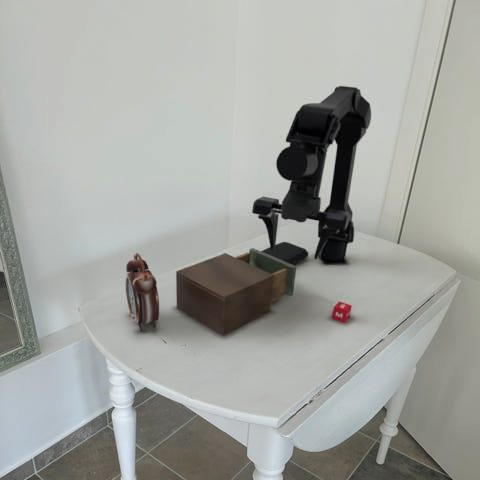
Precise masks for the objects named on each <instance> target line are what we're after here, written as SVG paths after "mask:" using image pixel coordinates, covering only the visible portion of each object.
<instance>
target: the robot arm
mask: <svg viewBox="0 0 480 480" xmlns="http://www.w3.org/2000/svg"><path fill="white" fill-rule="evenodd" d="M371 120H372V109H371V104H370V102H369V101H367V99H366V98H364V97H363V96H362V94H361V89H359V88H357V86H355V87H353V86H348V85H347V86H346V85H339V86H336V87H335V88H334V91H333V92H331V93H330V94H329V95H328V96H327V97H326V98H324V99H323V100H321V101H320V102H317V103H316V102H315V103H314V102H312V103H311V102H310V103H306V104H305V103H304V104H303V105H301V107H300V108H299V110H297V111H296V112H295V115H294V117H293V121H292V123H291V126H290V128H289V130H288V133H287V136H286V138H285V142H286V143H289V146H287V147H285V148H283V149H282V150H281V151H280V152H279V153H278V155H277V158H276V163H275V165H276V170H277V172H278V174H279V176H280V177H281V178H283V179H284V180H286V181H289V182H290V185H289V189H288V191H287V193H286V194H285V196H284V198H283V199H282V201H281V203H280V199H279V198H273V197H268V196H261V197H259V198H257V199H255V200H254V202H253V204H252V211H251V214H254V215H257V217H258V219H259V220H262V221H263V223H264V225H265V228H266V232H267V236H268V241H269V247H271V250H274V248H275V245H276V244H277V236H278V235H277V234H278V226H279V224H278V223H279V215H280V218H281V219H282V220H285V221H287V220H291V221H295V222H297V223H305V222H306V221H307V220H311V221H317V222H318V224H317V225H318V226H317V238H318V239H319V240H318V243H317V246H316V249H315V253H314V257H313V259H314V260H317V259H318V258H319V260H320V261H321V262H322V263H323V264H324V265H339V264H342V265H343V264H347V263H348V261H347V260H346V254H347V250H348V249H347V248H348V245H349V244H350V243H351V244H352V243H354V240H355V225H354V221H353V210H352V208H351V206H350V203H349V198H350V192H351V185H352V179H353V173H354V166H355V160H356V155H357V154H356V153H357V146H358V144H359V142H360V141H361V140H362V139H363V137H364V136H365V135H366V134H367V130H368V129H369V127H370V124H371ZM334 142H335V144H336V152H335V158H334V165H333V166H334V167H333V174H332V182H331V189H330V198H329V204H328V205H327V206H326V208H325V209H324V210H323V211H321V205H322V198H321V197H320V193H321V186H322V180H323V175H324V170H325V165H326V159H327V153H328V149H329V148H330V146H331V145H333V143H334Z"/></svg>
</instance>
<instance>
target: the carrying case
mask: <svg viewBox="0 0 480 480" xmlns="http://www.w3.org/2000/svg"><path fill="white" fill-rule="evenodd" d="M260 251H261V252H264V253H266V254H268V255H271V256H273V257H275V258H278V259H280V260H282V261H285V262H287V263H289V264H292V265H294V266H295V265H297V264H298V263H301V262H303V261H305V259H307V258H308V257H309V252H308V250H307V249H306V248H304V247H302V246H300V245H299V246H298V245H296V244H293V243H290V242H288V241H282V242H279V243H275V248H274V250H271V247H270V246H268V247H267V248H265V249H263V250H260Z"/></svg>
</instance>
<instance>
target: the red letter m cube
mask: <svg viewBox="0 0 480 480" xmlns="http://www.w3.org/2000/svg"><path fill="white" fill-rule="evenodd" d="M352 307H353V305H352V304H349V303H346V302H342V301H338V302H337V303H336V304H335V305H334V306H333V310H332V314H331V319H332V320H335V321H338V322H340V323H344V324H346V322H347V321H348V319H349V318H350V316H351V313H352Z"/></svg>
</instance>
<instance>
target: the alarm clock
mask: <svg viewBox="0 0 480 480" xmlns="http://www.w3.org/2000/svg"><path fill="white" fill-rule="evenodd" d="M125 271H126V276H125V281H124V283H125V284H124V285H125V295H126V302H127V306H128V310H129V314H130V317H131V320H132V321H133V322H134V323H135V324H136V325H138V328H139V332H142V331H143V329H142V324H150V323H152V326H153V327H154V328H156V322H157V321H158V320H159V318H160V297H159V291H158V287H157V280H156V278H155V276H154V275H153V273H152V272H151V270H150V269H149V265H148V263H147V261H146V260H144V259H143V258H142V257H141V255H140V254H139V253H138V252H136V253H135V255H133V259H131V260H129V261H128V262H127V263H126V266H125Z"/></svg>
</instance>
